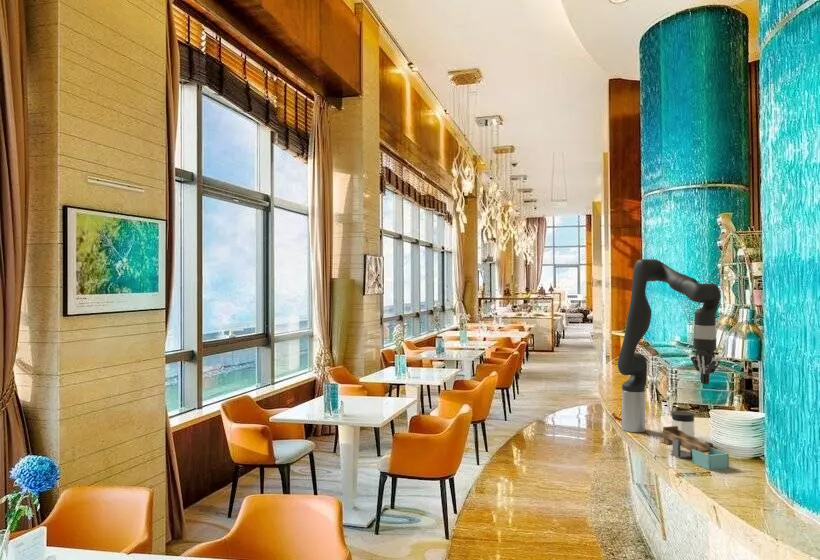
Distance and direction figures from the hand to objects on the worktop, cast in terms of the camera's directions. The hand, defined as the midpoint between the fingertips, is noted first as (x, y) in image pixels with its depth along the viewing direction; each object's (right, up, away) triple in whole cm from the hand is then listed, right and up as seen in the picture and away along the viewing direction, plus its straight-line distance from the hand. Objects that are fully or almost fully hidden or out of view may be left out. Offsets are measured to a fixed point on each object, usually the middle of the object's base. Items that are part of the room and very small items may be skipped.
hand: (704, 383), depth 229 cm
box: (-4, -27, -12) cm, 30 cm away
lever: (-6, -25, +1) cm, 26 cm away
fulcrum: (-7, -27, 0) cm, 28 cm away
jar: (0, -27, +17) cm, 32 cm away
